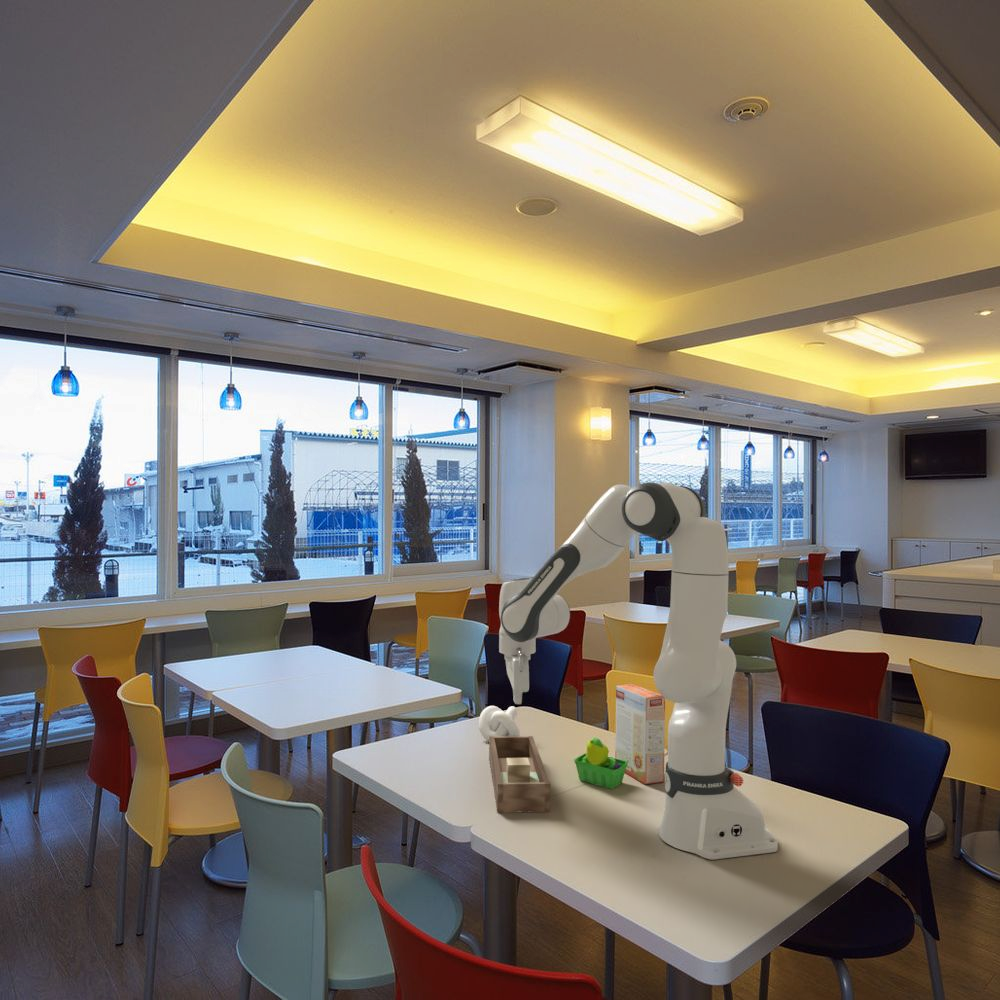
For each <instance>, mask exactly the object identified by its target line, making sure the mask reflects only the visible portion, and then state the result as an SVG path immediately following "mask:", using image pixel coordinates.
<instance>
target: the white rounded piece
mask: <svg viewBox="0 0 1000 1000" xmlns="http://www.w3.org/2000/svg"><path fill="white" fill-rule="evenodd" d="M517 714H518V709H517V707H515V706H514V705H513V706H509V707H508V708H507V710H506V711H503V710H502V709H501V708H499V707H498V706H495V705H489V706H487V707H485V708H484V709H482V711H481V712H480V715H479V719H478V727H479V728H478V729H479V731H480V734H481V736H482V737H483V739H484V740H486V741H487V742H489V737H494V736H520V735H521V734H520V728H519V726H518V725H517V723H516V722H515V718H516V717H517Z"/></svg>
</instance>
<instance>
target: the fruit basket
mask: <svg viewBox="0 0 1000 1000" xmlns="http://www.w3.org/2000/svg"><path fill="white" fill-rule="evenodd" d="M585 751H586V752H585V753H583V754H581V755H579V756H577V757H575V758H574V759H573V761H574V764H575V767H576V771H577V774H578V779H579V781H581V780H583V781H582V782H584V781H587V783H588V782H590V783H589V784H592V783H594V784H593V785H596V784H597V786H599V785H600V787H603V786H605V787H604V788H607V789H611V790H612V789H614V788H616V787H618V786H619V785H620V783H621V784H622V783H623V781H624V777H625V776H624V775H625V774H626V773H625V770H626V767H627V765H628V762H627V761H624V760H620V759H615V757H613V756H609V752H610V751H609V748H608V747H607V745H605V744H604V743H603V742H602V741H601V740H600V739H599V738H598V737H593V738H591V739H590V740H589V741H588V742H587V743H586V750H585ZM617 785H618V786H617Z"/></svg>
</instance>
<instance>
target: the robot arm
mask: <svg viewBox="0 0 1000 1000" xmlns="http://www.w3.org/2000/svg"><path fill="white" fill-rule="evenodd" d="M637 533H638V534H641V535H642V536H645V537H648V538H650V539H654V540H655V541H658V542H663V541H667V543H668V544H669V545H670V548H671V555H672V556H671V558H672V559H671V580H670V581H671V582H670V603H669V605H670V606H669V613H668V618H667V624H666V628H665V631H664V632H665V633H664V636H663V641H662V646H661V651H660V655H659V658H658V660H657V661H656V664H655V665H654V669H653V682H654V686H655V687H656V689H657V691H658V692H659V694H661V695H662V696H663V697H665V700H667V701H670V702H672V703H674V704H673V705H674V706H673V710H672V713H671V716H670V718H669V721H668V727H667V762H666V763H665V770H664V790H665V793H666V796H665V797H666V798H665V805H664V810H663V816H662V819H661V824H660V827H659V830H658V836H659V838H660V839H661V840H662V841H664V843H666V844H667V845H668V846H669V845H670V846H671V847H673V848H676V849H678V850H681V851H684V852H688V853H692V854H696V855H698V856H700V857H701V858H704V859H708V860H720V859H729V858H738V857H745V856H753V855H761V854H770V853H776V852H777V851H778V850H779V844H778V843H779V842H778V839H777V838H776V836H775V835H774V834H773V833H772V831H770V829H769V828H767V827H766V824H765V820H764V817H763V814H762V812H761V809H760V808H759V807H758V806H757V805H756V803H754V802H753V801H752V800H751V799H750V798H748V797H747V796H746V794H744V793H743V792H741V791H740V790H739V789H738V788H736V787H741V786H742V785H743V784H744V781H745V780H744V778H743V777H742V776H741V775H740V774H739V773H738V772H734V771H733V770H732V769H730V767H727V766H726V729H727V720H728V713H729V708H730V701H731V695H732V689H733V688H732V687H733V679H734V676H735V672H736V669H737V658H736V655H735V652H734V650H733V649H732V648H731V646H730V645H729V644H727V643H726V642H724V641H722V640H721V636H722V631H723V627H724V624H725V621H726V619H727V615H728V605H729V603H728V600H729V574H730V573H729V572H730V571H729V570H730V569H729V566H730V565H729V563H730V562H729V549H728V541H727V540H728V539H727V535H726V531H725V528H724V526H723V525H722V524H721V523H720V522H719V521H717V520H715V519H713V518H710V517H706V504H705V502H704V499H703V498H702V496H701V495H700V494H699V493H698V492H697V491H696V490H694V489H692V488H690V487H687V486H685V485H676V484H674V483H670V482H643V483H640V484H637V485H635V486H633V487H632V486H630V485H627V484H615V485H613V486H611V487H609V489H608V490H606V491H605V492H604V493H603V494H602V495H601V496H600V498H598V500H597V501H596V502H595V503H594V504H593V506H592V507H591V508H590V509H589V511H588V512H587V513H586V515H585V516H584V518H583V519H582V521H580V523H579V525H578V526H577V527H576V528H575V530H574V531H573V532H572V533H571V534H570V536H569V537H568V538H567V539H566V540H565V541H564V542H563V543H562V544H561V546H560V547H558V549H557V550H556V551H554V553H552V555H550V557H549V558H548V559H547V560H546V561H545V563H544V564H543V565H542V566H541V568H539V570H538V571H537V572H536V574H535V575H534V576H533V577H532V578H529V577H522V578H514V579H509V580H506V581H505V582H503V583H502V584H501V588H500V592H499V600H498V601H499V602H498V604H499V606H498V612H499V613H498V615H499V620H500V628H499V632H498V637H499V639H498V642H499V643H498V649H499V650H498V652H499V653H500V654H502V655H504V656H503V657H504V660H505V667H506V675H507V677H508V679H509V681H510V684H511V688H512V696H513V699H512V700H513V702H514V704H515V705H522V702H523V693H527V692H529V690H530V671H529V669H530V666H529V661H530V660H531V655H532V654H535V653H536V651H537V649H536V646H537V645H536V642H537V641H536V640H537V638H543V637H546V636H550V635H551V636H552V635H555V634H559V633H560V632H563V631H565V630H566V628H567V627H568V625H569V624H570V619H571V610H570V606H569V603H568V602H567V601H566V599H565V598H564V597H563V596H562V595H560V594H559V592H560V591H561V590H562V589H563V587H565V585H567V584H568V583H569V582H570V581H572V580H574V579H576V578H578V577H579V576H582V575H585V574H588V573H591V572H592V571H593V572H594V571H597V570H600V569H602V568H605V567H608V566H609V565H610V564H611V563H613V561H615V560H616V559H617V558H618V557H619V556H620V555H621V554H622V552H623V551H624V550H625V548H626V547H627V546H628V544H629V542H630V541H631V539H632V538H633V537H634V536H635V534H637ZM735 786H736V787H735Z"/></svg>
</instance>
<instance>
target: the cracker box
mask: <svg viewBox="0 0 1000 1000" xmlns="http://www.w3.org/2000/svg"><path fill="white" fill-rule="evenodd" d="M665 722H666V698H665V697H663V696H662V695H661V694H660V693H658V692H655V691H653V690H650V689H648V688H645V687H642V686H640V685H637V684H634V683H627V684H618V685H616V686H615V737H614V738H615V739H614V740H615V743H614V745H615V747H614V748H615V750H614V751H615V756H614V758H615V759H620V760H624V761H627V762H628V765H627V767H626V770H625V773H624V774H627V775H629V776H630V777H632V778H633V779H636V780H637V781H639V782H641V783H642V784H643V785H648V784H649V785H650V784H658V783H665V751H666V750H665V742H666V741H665V739H666V737H665V736H666V735H665V733H666V731H665V730H666V728H665V727H666V725H665V724H666V723H665Z"/></svg>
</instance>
